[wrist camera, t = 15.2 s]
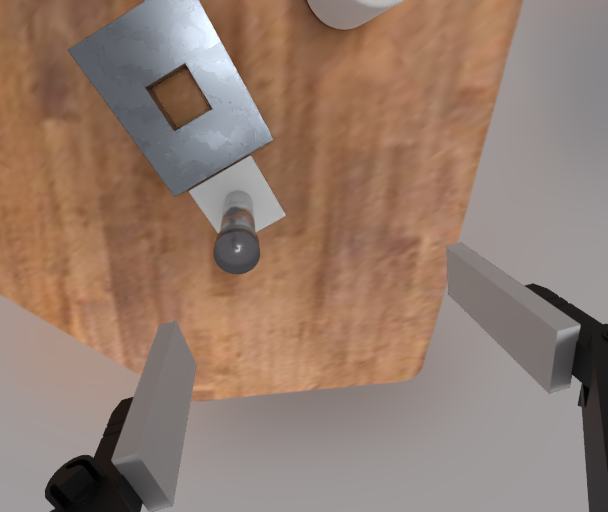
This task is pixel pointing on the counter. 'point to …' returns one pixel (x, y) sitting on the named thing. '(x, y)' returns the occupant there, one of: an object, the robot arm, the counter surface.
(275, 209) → the pad
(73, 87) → the counter surface
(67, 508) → the robot arm
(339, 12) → the beverage can
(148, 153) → the plate
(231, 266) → the key peg
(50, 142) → the counter surface
